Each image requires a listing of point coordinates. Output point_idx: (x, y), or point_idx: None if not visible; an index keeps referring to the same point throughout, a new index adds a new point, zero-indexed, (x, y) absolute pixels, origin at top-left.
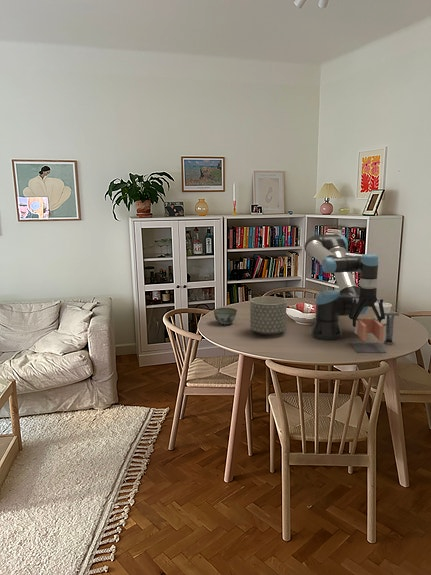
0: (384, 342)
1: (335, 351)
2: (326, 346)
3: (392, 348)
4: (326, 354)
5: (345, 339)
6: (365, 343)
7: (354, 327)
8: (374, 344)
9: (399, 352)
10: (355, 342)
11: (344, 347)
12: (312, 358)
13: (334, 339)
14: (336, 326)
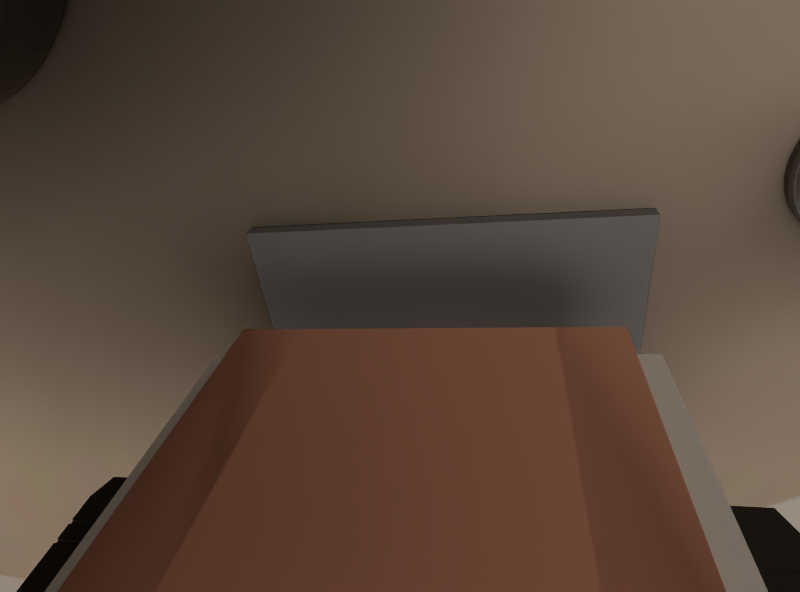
0: (791, 187)
1: (131, 454)
2: (13, 339)
3: (774, 385)
4: (80, 503)
5: (163, 33)
6: (448, 267)
7: (169, 423)
8: (568, 301)
9: (779, 490)
10: (312, 231)
11: (194, 363)
12: (17, 553)
13: (7, 95)
14: None
